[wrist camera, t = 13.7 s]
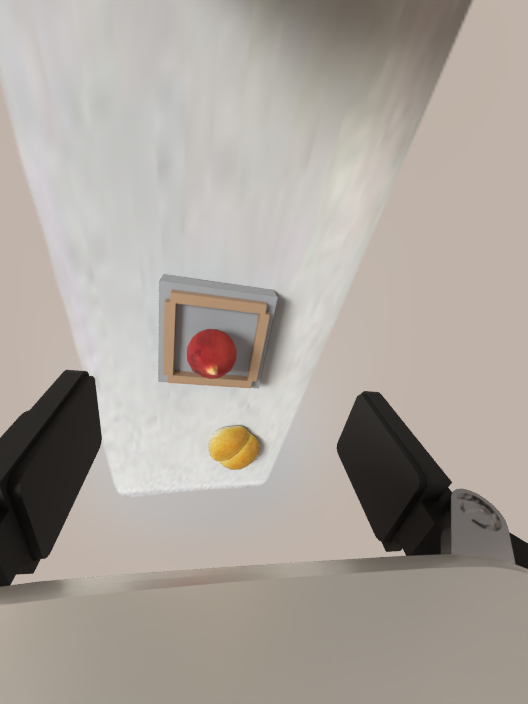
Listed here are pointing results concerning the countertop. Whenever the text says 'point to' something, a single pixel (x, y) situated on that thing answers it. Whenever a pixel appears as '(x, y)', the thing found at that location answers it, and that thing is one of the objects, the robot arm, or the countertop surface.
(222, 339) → the pomegranate
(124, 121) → the countertop surface
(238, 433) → the bread roll
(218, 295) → the stand
